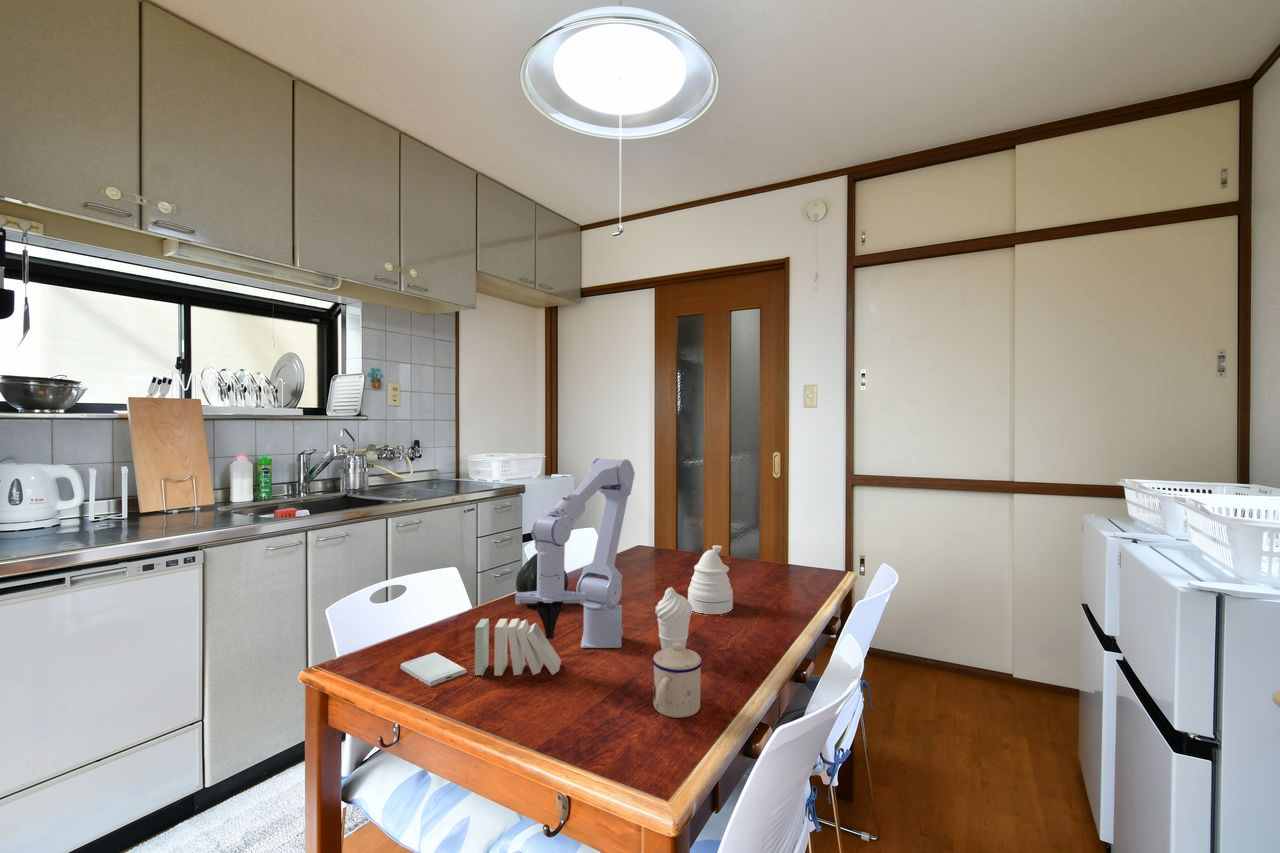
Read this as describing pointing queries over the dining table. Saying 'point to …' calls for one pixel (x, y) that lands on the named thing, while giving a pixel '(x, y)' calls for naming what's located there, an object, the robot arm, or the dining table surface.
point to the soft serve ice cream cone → (673, 618)
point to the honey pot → (710, 585)
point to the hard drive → (432, 669)
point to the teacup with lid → (677, 681)
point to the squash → (531, 578)
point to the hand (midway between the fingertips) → (550, 637)
